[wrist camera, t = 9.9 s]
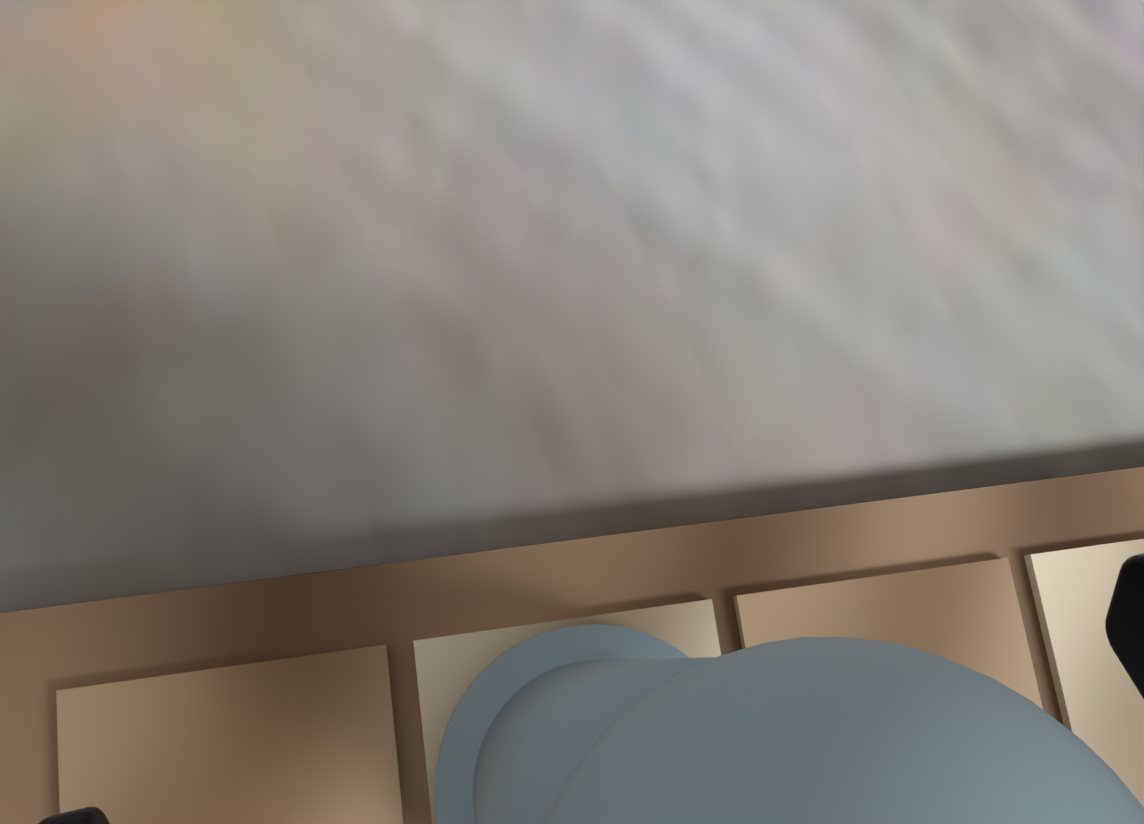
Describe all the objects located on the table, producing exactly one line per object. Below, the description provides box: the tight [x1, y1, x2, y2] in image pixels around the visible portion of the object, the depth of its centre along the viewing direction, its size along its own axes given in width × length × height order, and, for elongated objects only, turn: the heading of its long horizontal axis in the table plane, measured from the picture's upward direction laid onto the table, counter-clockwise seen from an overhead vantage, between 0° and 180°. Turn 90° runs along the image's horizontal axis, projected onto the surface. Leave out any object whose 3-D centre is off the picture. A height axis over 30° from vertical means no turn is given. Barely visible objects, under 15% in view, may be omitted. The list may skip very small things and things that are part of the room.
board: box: [0, 467, 1144, 824], centre depth 16 cm, size 22×7×1 cm, turn 98°
